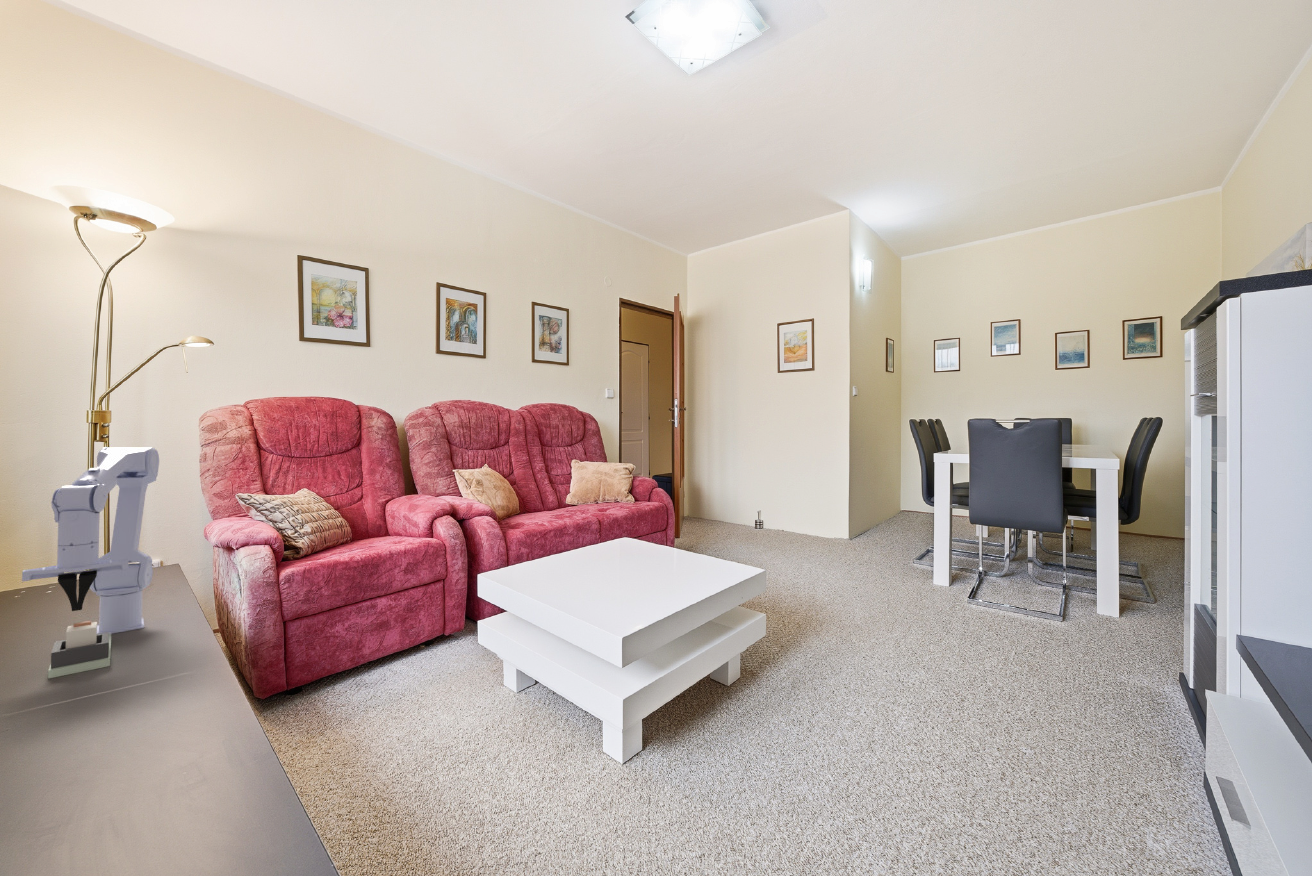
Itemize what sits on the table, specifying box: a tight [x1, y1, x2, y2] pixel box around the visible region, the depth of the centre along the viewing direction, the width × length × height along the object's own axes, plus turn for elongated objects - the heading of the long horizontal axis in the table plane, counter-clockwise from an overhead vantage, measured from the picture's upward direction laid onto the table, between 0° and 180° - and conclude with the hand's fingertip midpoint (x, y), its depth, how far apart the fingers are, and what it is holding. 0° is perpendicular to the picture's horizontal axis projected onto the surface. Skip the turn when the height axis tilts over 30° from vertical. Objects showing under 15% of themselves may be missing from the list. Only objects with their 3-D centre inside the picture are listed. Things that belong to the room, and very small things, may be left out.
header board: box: [47, 632, 112, 680], centre depth 107 cm, size 20×8×4 cm, turn 46°
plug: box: [65, 620, 98, 649], centre depth 104 cm, size 5×4×6 cm
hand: (77, 609), depth 106 cm, fingers closed
